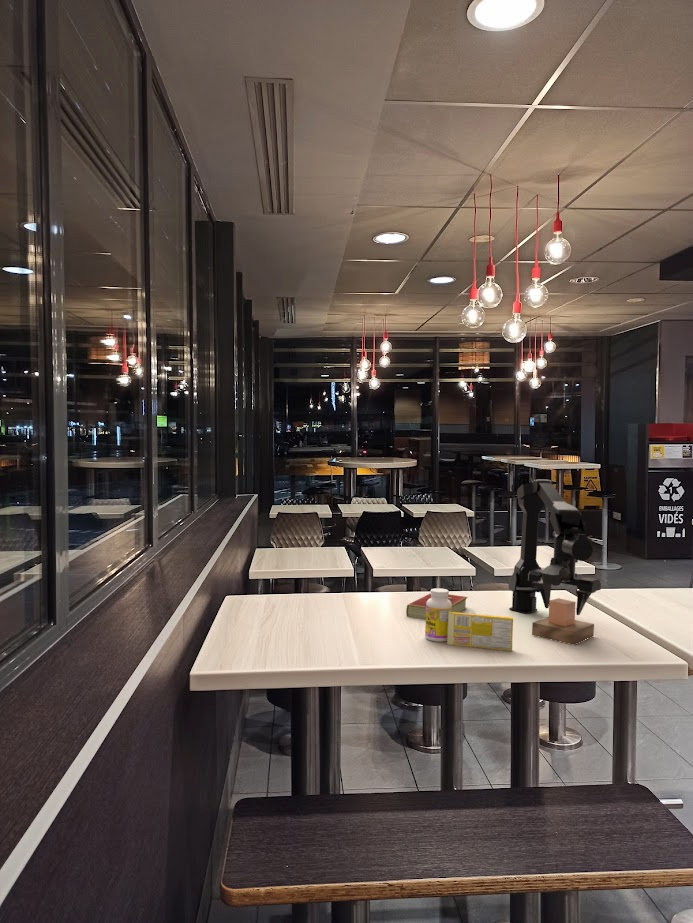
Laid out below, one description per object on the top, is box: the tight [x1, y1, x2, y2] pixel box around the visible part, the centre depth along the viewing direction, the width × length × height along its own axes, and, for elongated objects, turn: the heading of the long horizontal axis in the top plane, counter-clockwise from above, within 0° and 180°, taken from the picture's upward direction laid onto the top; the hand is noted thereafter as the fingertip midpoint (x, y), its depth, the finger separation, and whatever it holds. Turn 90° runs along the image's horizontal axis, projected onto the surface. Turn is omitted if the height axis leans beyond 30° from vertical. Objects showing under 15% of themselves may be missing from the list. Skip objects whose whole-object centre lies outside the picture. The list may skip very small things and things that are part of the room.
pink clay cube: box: [548, 597, 577, 626], centre depth 185 cm, size 5×5×6 cm
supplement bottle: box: [424, 587, 452, 643], centre depth 177 cm, size 7×7×13 cm
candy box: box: [446, 612, 514, 652], centre depth 172 cm, size 16×2×8 cm, turn 74°
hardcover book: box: [405, 593, 468, 620], centre depth 207 cm, size 12×21×4 cm, turn 152°
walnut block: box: [531, 616, 595, 645], centre depth 185 cm, size 12×12×4 cm
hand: (562, 611), depth 185 cm, fingers open, 9 cm apart
